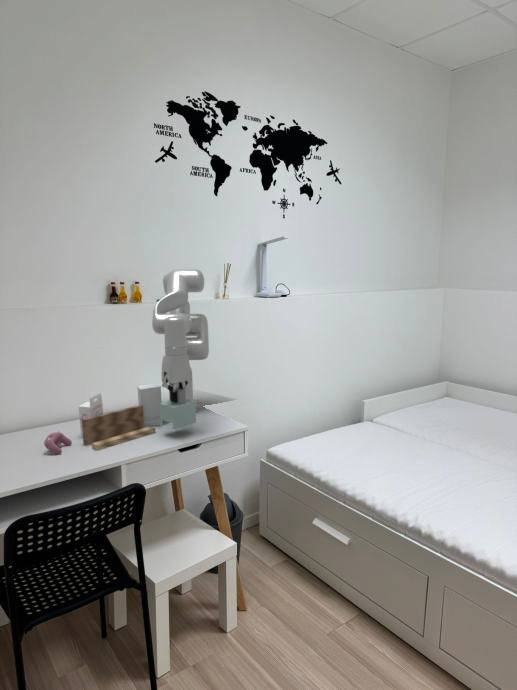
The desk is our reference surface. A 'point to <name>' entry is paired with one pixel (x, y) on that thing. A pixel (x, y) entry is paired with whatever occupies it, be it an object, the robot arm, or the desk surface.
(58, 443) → the video game controller
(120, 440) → the curved brown board
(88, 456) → the desk surface
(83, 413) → the ink cartridge box
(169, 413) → the mint green block
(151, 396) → the skincare box
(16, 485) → the desk surface
